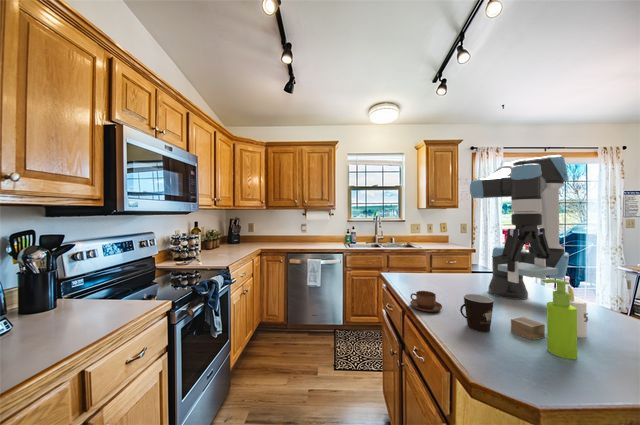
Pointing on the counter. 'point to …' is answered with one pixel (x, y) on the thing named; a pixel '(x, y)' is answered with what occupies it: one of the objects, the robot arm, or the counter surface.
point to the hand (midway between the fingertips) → (527, 280)
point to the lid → (531, 270)
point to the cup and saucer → (425, 301)
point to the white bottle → (579, 314)
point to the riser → (528, 328)
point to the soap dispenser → (561, 323)
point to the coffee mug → (478, 312)
